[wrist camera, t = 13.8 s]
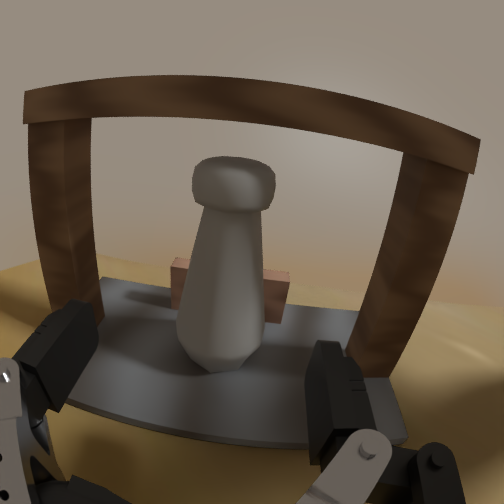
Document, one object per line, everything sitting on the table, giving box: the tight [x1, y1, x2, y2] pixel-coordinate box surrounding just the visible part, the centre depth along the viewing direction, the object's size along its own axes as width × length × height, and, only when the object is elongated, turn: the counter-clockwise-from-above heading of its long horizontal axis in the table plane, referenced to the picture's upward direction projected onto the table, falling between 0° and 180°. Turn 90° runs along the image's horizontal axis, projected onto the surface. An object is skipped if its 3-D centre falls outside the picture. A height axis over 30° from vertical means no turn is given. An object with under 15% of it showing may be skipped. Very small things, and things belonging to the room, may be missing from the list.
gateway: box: [23, 75, 480, 449], centre depth 17 cm, size 25×14×18 cm, turn 87°
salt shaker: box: [176, 156, 276, 373], centre depth 18 cm, size 6×6×13 cm
